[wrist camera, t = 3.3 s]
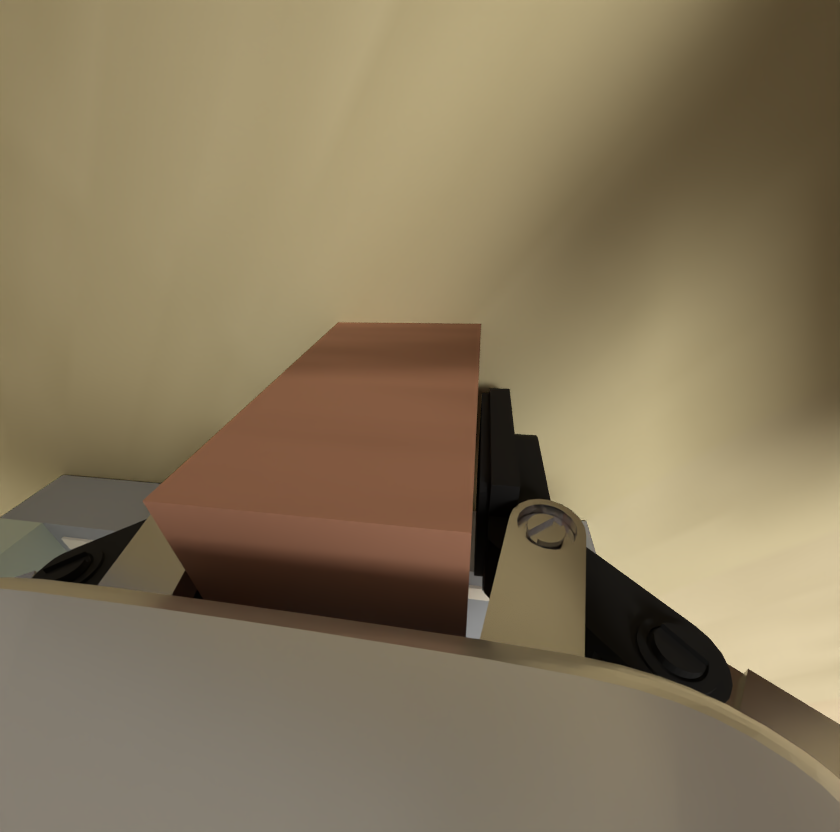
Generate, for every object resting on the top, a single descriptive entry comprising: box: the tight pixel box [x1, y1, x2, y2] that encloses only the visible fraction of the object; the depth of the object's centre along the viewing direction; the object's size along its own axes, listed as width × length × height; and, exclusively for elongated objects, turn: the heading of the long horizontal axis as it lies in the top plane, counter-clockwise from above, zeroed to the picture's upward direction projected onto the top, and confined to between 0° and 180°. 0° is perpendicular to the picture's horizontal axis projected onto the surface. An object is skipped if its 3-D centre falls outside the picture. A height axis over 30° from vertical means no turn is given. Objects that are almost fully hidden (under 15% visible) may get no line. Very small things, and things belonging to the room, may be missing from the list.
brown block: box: [143, 322, 481, 637], centre depth 9 cm, size 8×4×7 cm, turn 2°
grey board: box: [0, 475, 596, 639], centre depth 14 cm, size 8×22×5 cm, turn 92°
